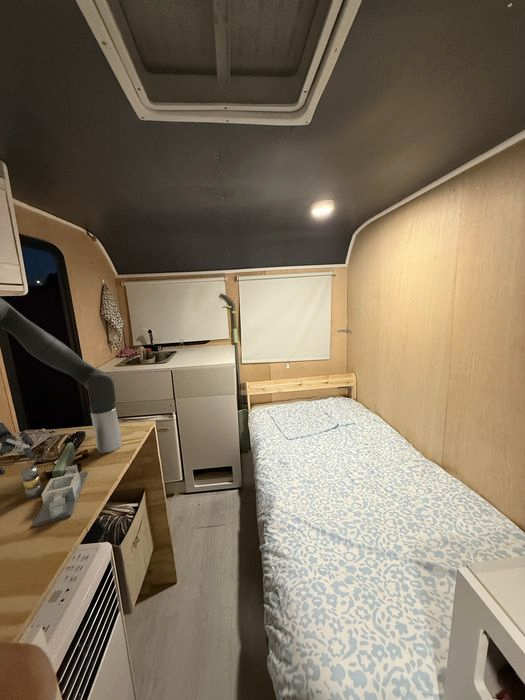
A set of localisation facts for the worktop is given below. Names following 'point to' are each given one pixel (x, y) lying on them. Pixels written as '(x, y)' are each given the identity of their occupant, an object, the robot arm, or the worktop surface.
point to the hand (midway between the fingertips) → (18, 465)
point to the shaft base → (69, 504)
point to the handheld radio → (64, 460)
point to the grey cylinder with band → (31, 482)
